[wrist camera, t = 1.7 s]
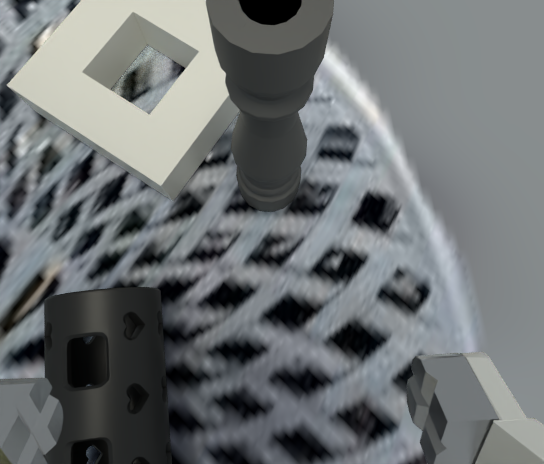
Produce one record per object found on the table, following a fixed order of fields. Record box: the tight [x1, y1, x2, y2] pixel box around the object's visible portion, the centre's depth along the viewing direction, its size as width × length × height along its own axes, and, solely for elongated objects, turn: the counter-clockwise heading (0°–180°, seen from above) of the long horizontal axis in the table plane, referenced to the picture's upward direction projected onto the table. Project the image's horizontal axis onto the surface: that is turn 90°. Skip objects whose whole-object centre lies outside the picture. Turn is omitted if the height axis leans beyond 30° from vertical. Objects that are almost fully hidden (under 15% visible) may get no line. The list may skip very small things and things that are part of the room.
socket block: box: [7, 0, 240, 201], centre depth 42 cm, size 18×18×5 cm
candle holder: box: [206, 0, 334, 212], centre depth 30 cm, size 6×6×25 cm
